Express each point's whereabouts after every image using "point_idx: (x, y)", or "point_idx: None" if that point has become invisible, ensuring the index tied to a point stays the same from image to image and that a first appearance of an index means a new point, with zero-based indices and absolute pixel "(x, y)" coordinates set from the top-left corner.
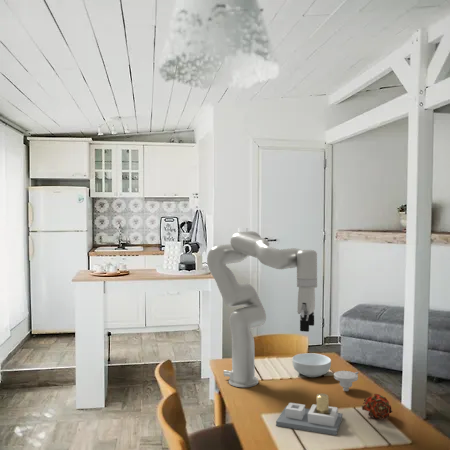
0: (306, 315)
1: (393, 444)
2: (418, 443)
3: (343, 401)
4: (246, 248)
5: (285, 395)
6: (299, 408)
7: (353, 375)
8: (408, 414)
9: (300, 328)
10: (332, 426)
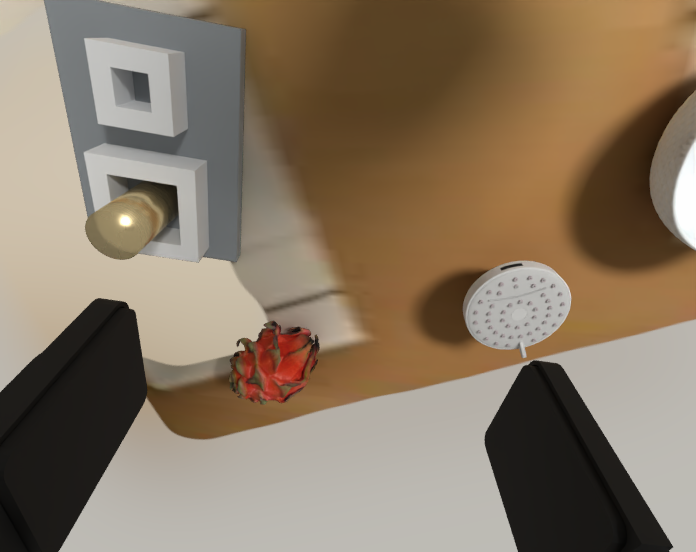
0: (611, 540)
1: None
2: (157, 399)
3: (383, 263)
4: None
5: (425, 5)
6: (120, 112)
7: (497, 337)
8: (318, 404)
9: (76, 324)
10: None
